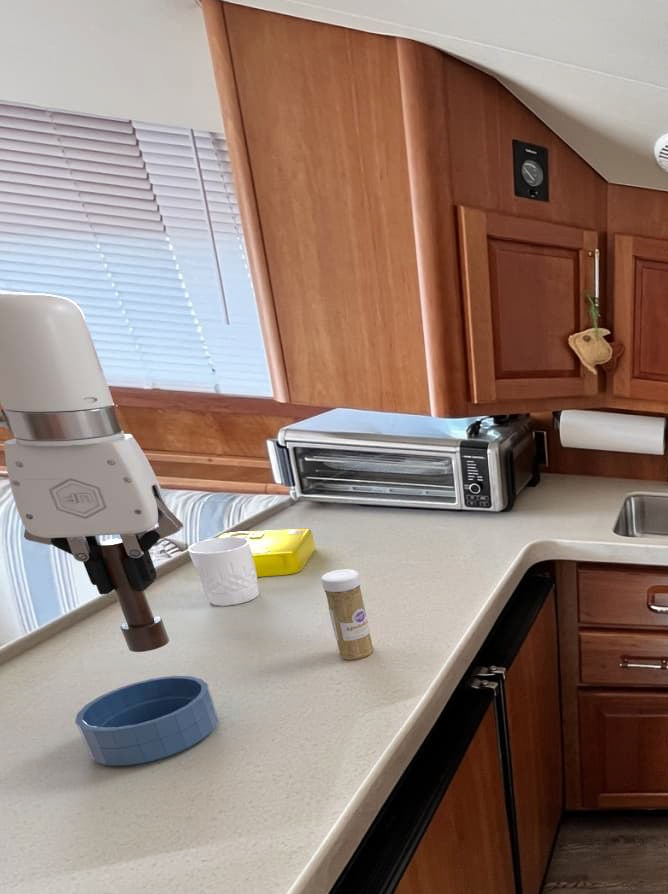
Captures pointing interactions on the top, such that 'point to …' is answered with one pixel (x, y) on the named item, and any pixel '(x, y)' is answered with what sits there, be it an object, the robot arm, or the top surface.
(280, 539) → the yellow box
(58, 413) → the robot arm
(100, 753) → the bowl
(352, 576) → the sprinkles bottle
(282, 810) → the top surface
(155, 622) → the muddler
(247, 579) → the white cup
